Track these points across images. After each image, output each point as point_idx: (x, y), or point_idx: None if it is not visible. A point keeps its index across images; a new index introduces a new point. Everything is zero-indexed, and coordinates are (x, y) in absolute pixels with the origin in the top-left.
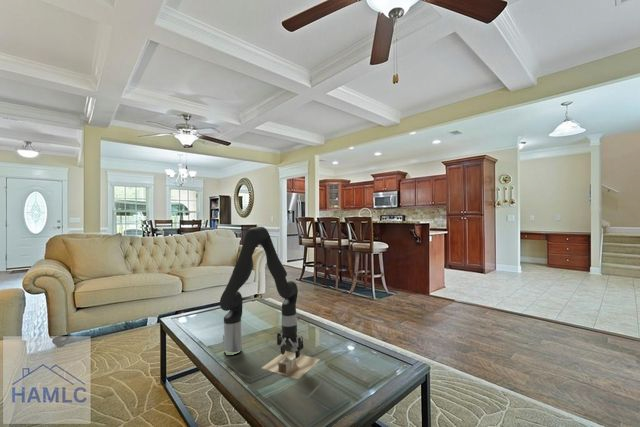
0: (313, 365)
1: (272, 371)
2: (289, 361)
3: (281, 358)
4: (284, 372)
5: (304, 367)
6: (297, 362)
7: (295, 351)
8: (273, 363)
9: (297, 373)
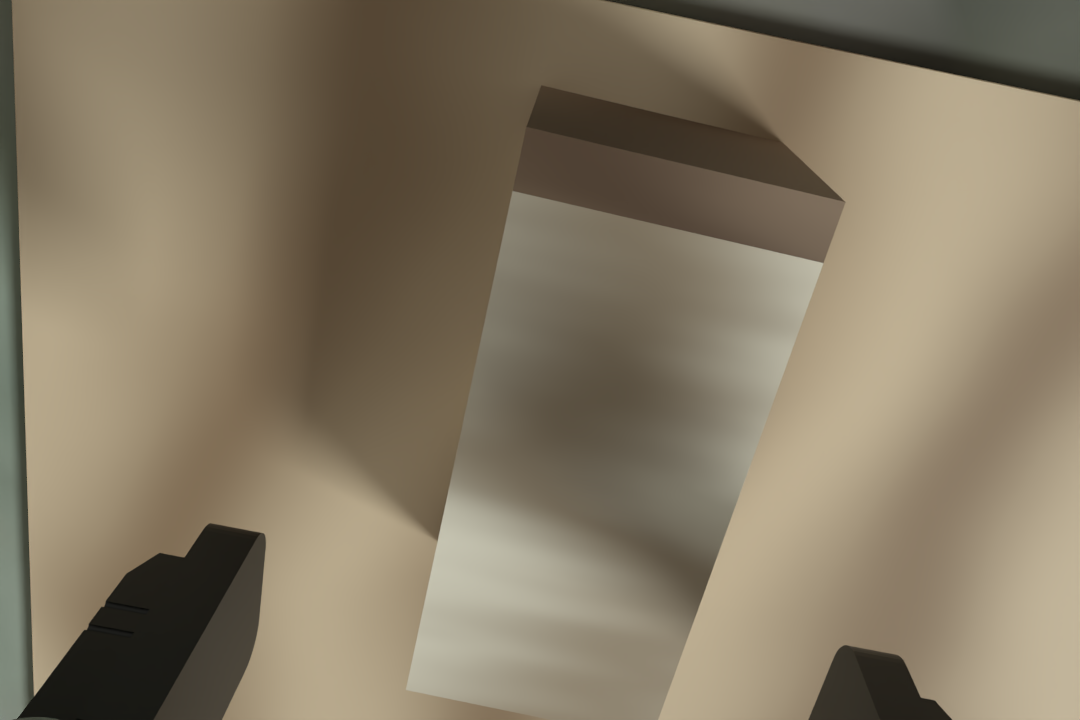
0: (36, 592)
1: (966, 84)
2: (472, 391)
3: None
4: (566, 95)
5: (183, 473)
6: None
7: (153, 708)
8: (1067, 472)
9: (206, 175)
